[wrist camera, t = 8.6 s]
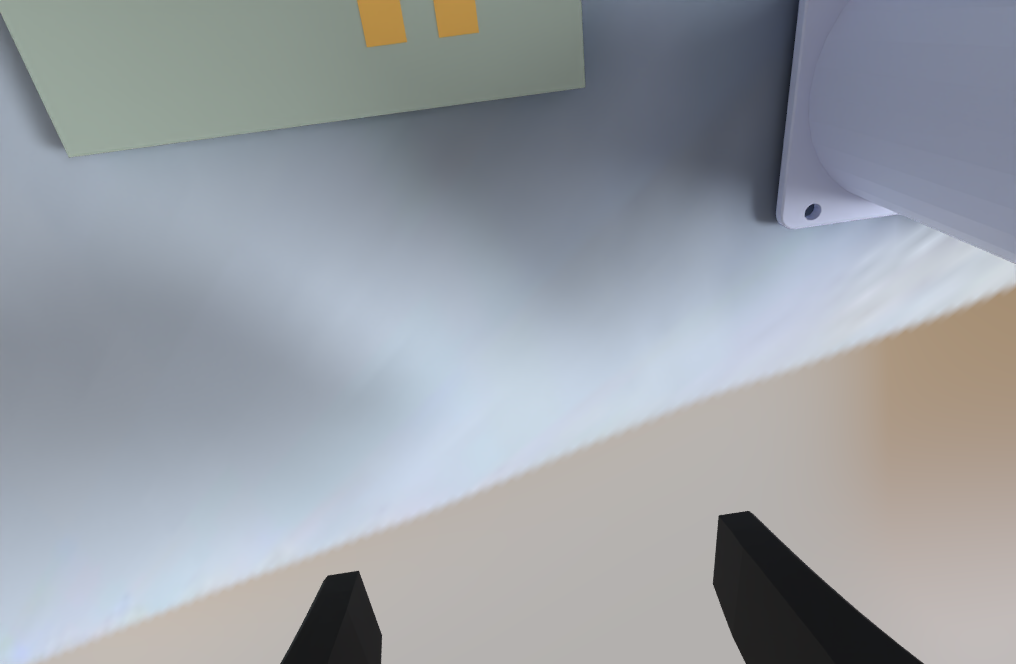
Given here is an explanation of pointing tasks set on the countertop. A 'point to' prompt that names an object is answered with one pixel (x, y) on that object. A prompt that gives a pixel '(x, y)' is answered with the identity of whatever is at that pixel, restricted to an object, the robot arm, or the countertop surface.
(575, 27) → the board
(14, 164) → the countertop surface
